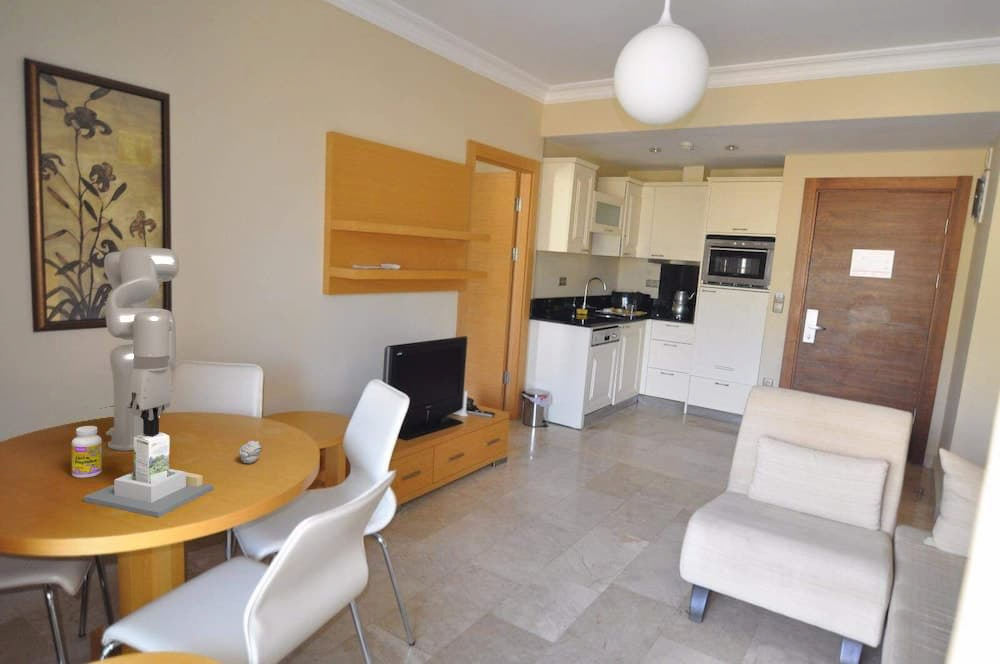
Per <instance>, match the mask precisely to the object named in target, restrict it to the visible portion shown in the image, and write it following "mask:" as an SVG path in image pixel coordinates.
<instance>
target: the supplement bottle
mask: <svg viewBox="0 0 1000 664" xmlns="http://www.w3.org/2000/svg"><path fill="white" fill-rule="evenodd" d="M75 429H76V430H75V434H76V437H74V438H73V439H72V441H71V475H72V477H74V478H79V479H84V478H93V477H96V476H99V474H101V473H102V469H103V468H102V466H103V462H102V461H103V459H102V458H103V452H102V449H103V444H102V442H103V441H102V440H103V439H102V437H101V436H100V435H97V433H98V426H96V425H85V426H79V427H77V428H75Z"/></svg>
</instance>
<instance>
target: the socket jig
mask: <svg viewBox="0 0 1000 664" xmlns="http://www.w3.org/2000/svg"><path fill="white" fill-rule="evenodd" d="M113 482H114V484H111V485H109V486H107V487H104V488H101V489H99V490H96V491H94V492H92V493H89V494H86V495H85V496H83V502H85V503H89V504H95V505H99V506H104V507H108V508H114V509H118V510H122V511H127V512H131V513H137V514H142V515H144V516H151V517H153V518H154V517H155V518H160V517H162V516H164V515H166V514H168V513H170V512H172V511H174V510H176V509H178V508H180V507H182V506H184V505H186V504H188V503H190V502H191V501H194V500H195V499H198V498H199V497H201V496H204V495H206V494H207V493H209V492H211V491H214V485H213V484H208V483H204V482H203V475H201V474H197V473H191V472H188V471H187V472H186V471H185V470H184V471H183V470H178V469H173V468H169V476H168V477H166V478H164V479H161V480H159V481H157V482H154V483H152V484H149V483H144V482H139V481H134V480H133V472H130V473H127V474H125V475H122V476H120V477H118V478H115V479H114V481H113Z"/></svg>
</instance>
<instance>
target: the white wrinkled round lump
mask: <svg viewBox="0 0 1000 664" xmlns="http://www.w3.org/2000/svg"><path fill="white" fill-rule="evenodd" d="M262 450H263V448H262V446H261V445H260V442H259V441H258V440H256V441H254V440H249V441H247V443H245V444H242V445H241V446H240V447H239V450H238V456H239V458H240V459H241V461H242V462H243V463H244V464H253V463H255V462H256V461H257V460H258V458H259V456H260V453H261V452H262Z"/></svg>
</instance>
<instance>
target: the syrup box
mask: <svg viewBox="0 0 1000 664" xmlns="http://www.w3.org/2000/svg"><path fill="white" fill-rule="evenodd" d="M170 438H171V437H170V435H168V434H166V433H164V432H160V431H159V434H157V435H154V436H151V435H145V434H143V435H139V436H135V437H134V450H133V472H132V473H133V480H134V481H139V482H144V483H149V484H152V483H154V482H157V481H159V480H161V479H164V478H166V477H168V476H169V469H170V446H171V445H170V443H171V442H170V441H171V440H170Z"/></svg>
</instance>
